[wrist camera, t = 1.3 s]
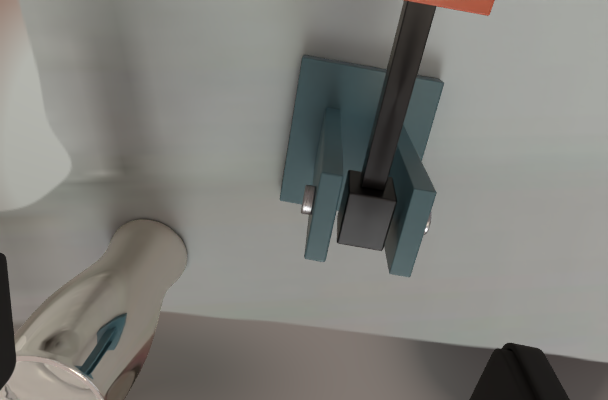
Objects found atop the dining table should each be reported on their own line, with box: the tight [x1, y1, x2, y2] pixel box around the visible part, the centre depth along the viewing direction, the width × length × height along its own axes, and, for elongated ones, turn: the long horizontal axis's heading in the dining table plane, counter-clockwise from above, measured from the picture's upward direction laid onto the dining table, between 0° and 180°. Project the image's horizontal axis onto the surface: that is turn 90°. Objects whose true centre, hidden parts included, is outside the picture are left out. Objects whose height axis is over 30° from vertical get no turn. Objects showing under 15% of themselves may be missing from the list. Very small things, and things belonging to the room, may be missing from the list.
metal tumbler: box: [0, 219, 187, 400], centre depth 30 cm, size 7×7×15 cm
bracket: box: [280, 55, 444, 277], centre depth 27 cm, size 10×9×13 cm
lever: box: [337, 0, 494, 251], centre depth 20 cm, size 12×5×2 cm, turn 172°
